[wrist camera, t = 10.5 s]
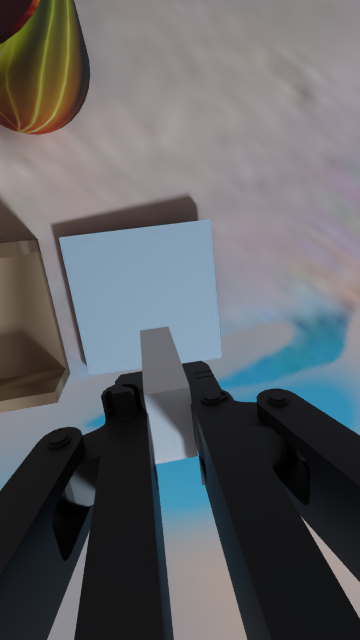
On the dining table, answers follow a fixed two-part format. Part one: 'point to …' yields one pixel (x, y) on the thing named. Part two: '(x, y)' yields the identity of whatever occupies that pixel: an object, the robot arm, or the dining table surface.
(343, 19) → the dining table surface
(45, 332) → the crate
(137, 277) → the pale blue square panel
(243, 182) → the dining table surface
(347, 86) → the dining table surface
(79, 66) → the mug
